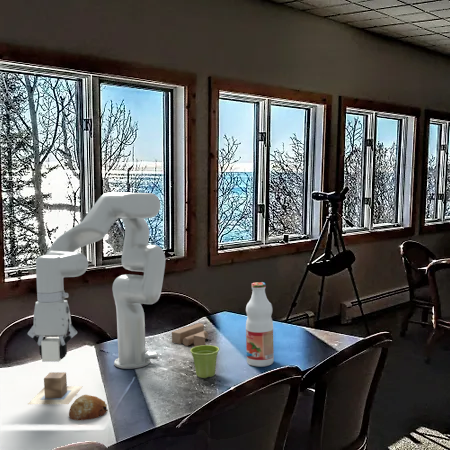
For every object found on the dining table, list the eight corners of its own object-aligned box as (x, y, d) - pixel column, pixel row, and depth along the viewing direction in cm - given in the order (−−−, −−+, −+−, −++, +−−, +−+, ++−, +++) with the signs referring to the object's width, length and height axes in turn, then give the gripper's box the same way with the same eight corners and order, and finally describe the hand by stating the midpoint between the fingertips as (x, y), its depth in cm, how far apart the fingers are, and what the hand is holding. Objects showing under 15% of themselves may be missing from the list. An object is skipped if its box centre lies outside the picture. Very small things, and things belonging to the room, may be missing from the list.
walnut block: (67, 391, 176) (66, 372, 175) (61, 398, 171) (60, 378, 170) (51, 391, 176) (49, 372, 175) (44, 398, 171) (43, 378, 170)
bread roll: (80, 422, 165) (66, 399, 164) (112, 405, 165) (99, 382, 164) (74, 438, 155) (59, 413, 154) (108, 420, 156) (94, 395, 155)
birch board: (83, 390, 180) (83, 386, 180) (68, 408, 166) (68, 404, 166) (45, 390, 181) (45, 386, 181) (27, 408, 167) (27, 404, 167)
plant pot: (213, 381, 185) (212, 354, 184) (186, 378, 188) (185, 352, 187) (223, 371, 193) (223, 346, 193) (197, 369, 197) (197, 344, 196)
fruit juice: (276, 366, 198) (275, 285, 195) (249, 368, 196) (247, 286, 194) (270, 357, 207) (268, 280, 204) (244, 359, 205) (242, 281, 203)
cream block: (64, 356, 174) (63, 336, 174) (58, 361, 169) (58, 341, 169) (48, 356, 175) (47, 336, 174) (42, 361, 170) (41, 341, 169)
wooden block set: (169, 329, 228) (198, 319, 242) (170, 343, 228) (199, 333, 243) (203, 335, 218) (231, 325, 232) (203, 350, 218) (231, 339, 232)
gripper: (83, 294, 174) (85, 353, 175) (27, 294, 175) (30, 353, 176) (75, 299, 166) (77, 361, 168) (17, 299, 167) (20, 361, 169)
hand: (53, 356), depth 172 cm, fingers closed on cream block, 5 cm apart
